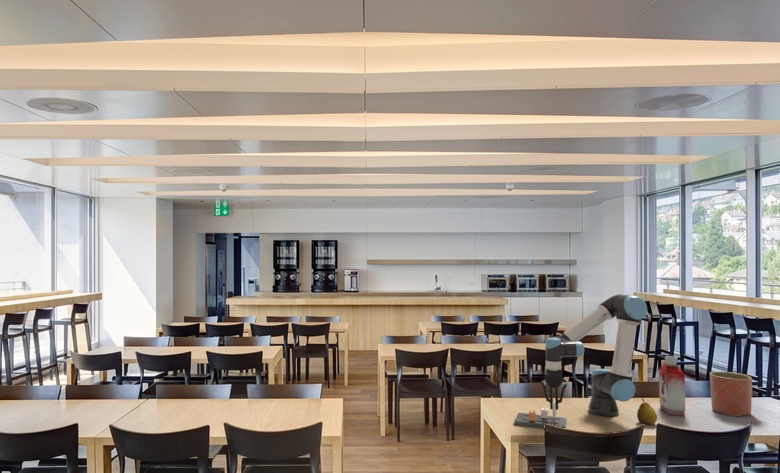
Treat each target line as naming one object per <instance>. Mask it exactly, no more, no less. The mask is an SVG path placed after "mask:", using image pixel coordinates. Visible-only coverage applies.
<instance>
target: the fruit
mask: <svg viewBox="0 0 780 473" xmlns="http://www.w3.org/2000/svg"><path fill="white" fill-rule="evenodd" d="M641 400H642V401H643V402H641V404H640V405H639V407H638V409H637V413H636V417H637V420H638V421H639V423H640V424H642V423H644V424H643V425H648V426H653V425H655V424H656V423H657V421H658V415H657V412H656V410H655V408H653V407H652V405H651V404H649V402H645V399H644V398H643V397H642V398H641Z"/></svg>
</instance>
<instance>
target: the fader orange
mask: <svg viewBox="0 0 780 473" xmlns="http://www.w3.org/2000/svg"><path fill="white" fill-rule="evenodd" d="M528 414H529V421H535V420H536V415H537V412H536V410H529V411H528Z"/></svg>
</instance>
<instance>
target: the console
mask: <svg viewBox="0 0 780 473" xmlns="http://www.w3.org/2000/svg"><path fill="white" fill-rule="evenodd" d="M567 420H568V419H567V417H563V416H562V417H561V416H556V417H553V415H548V419H546V418H541V414H536V420H535V421H529V413H526V412H518V413H517V415H516V417H515V419H514V426H518V427H519V426H520V427H521V426H522V427H527V428H528V427H530V428H538V429H544V425H545V424H550V425H553V426H557V427H561V428H566V429H567V422H568V421H567Z"/></svg>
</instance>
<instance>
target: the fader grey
mask: <svg viewBox="0 0 780 473" xmlns="http://www.w3.org/2000/svg"><path fill="white" fill-rule="evenodd" d="M540 412H541V413H540V415H541V418H546V419H548V416H549V408H548V407H547V408H546V407H541V410H540Z"/></svg>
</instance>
